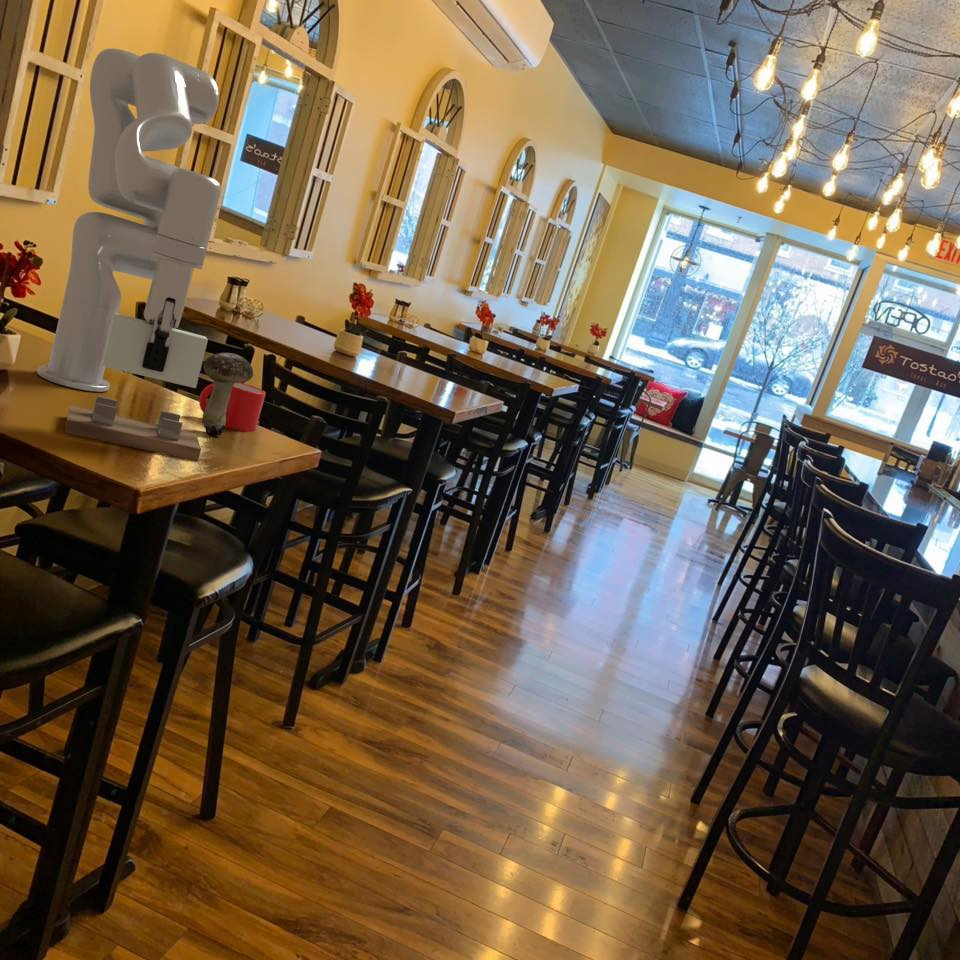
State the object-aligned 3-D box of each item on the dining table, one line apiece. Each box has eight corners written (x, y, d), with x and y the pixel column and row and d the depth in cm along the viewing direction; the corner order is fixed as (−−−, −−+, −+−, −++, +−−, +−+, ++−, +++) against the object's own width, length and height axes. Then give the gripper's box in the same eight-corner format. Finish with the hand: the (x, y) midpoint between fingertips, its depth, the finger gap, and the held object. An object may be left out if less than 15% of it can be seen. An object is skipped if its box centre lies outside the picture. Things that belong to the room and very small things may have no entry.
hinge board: (67, 417, 150) (74, 387, 149) (193, 444, 158) (200, 416, 158) (64, 432, 141) (71, 401, 140) (198, 460, 150) (205, 431, 149)
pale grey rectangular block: (103, 362, 146) (114, 312, 145) (193, 383, 152) (205, 336, 151) (103, 366, 143) (115, 315, 141) (195, 388, 149) (208, 339, 147)
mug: (190, 411, 182) (200, 373, 181) (249, 423, 189) (259, 386, 187) (199, 422, 176) (209, 382, 174) (260, 434, 182) (270, 396, 181)
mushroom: (221, 429, 176) (242, 353, 173) (244, 444, 171) (266, 365, 168) (176, 423, 169) (196, 343, 166) (198, 438, 164) (220, 356, 161)
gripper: (151, 243, 150) (125, 353, 153) (157, 248, 135) (128, 370, 138) (199, 257, 153) (172, 364, 156) (209, 264, 138) (179, 382, 141)
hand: (152, 366), depth 147 cm, fingers closed on pale grey rectangular block, 3 cm apart
